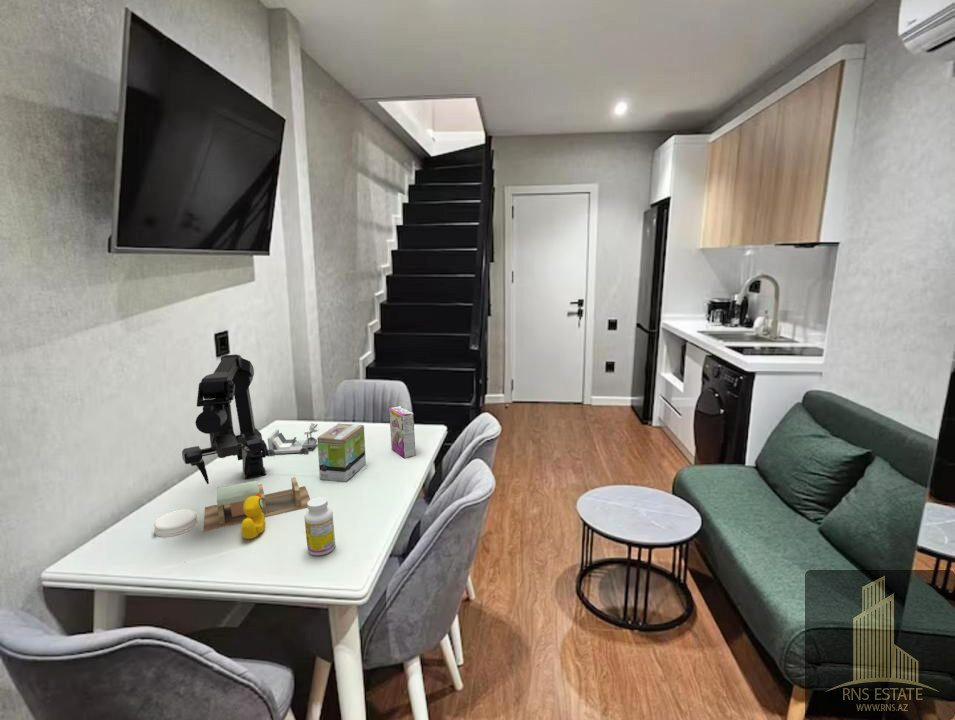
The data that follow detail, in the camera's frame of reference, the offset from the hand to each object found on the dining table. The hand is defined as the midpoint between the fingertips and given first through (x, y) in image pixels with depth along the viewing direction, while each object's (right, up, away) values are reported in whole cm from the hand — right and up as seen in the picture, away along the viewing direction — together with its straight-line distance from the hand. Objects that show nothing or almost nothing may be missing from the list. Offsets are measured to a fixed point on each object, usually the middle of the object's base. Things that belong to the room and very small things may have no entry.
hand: (226, 479), depth 135 cm
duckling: (+9, -14, -3) cm, 17 cm away
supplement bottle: (+29, -15, -11) cm, 35 cm away
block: (0, -11, +7) cm, 13 cm away
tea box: (+23, -6, +34) cm, 41 cm away
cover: (0, -6, +6) cm, 9 cm away
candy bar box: (+40, -2, +50) cm, 64 cm away
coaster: (-13, -14, 0) cm, 19 cm away
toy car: (-2, -2, +55) cm, 55 cm away
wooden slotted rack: (+5, -11, +10) cm, 16 cm away
